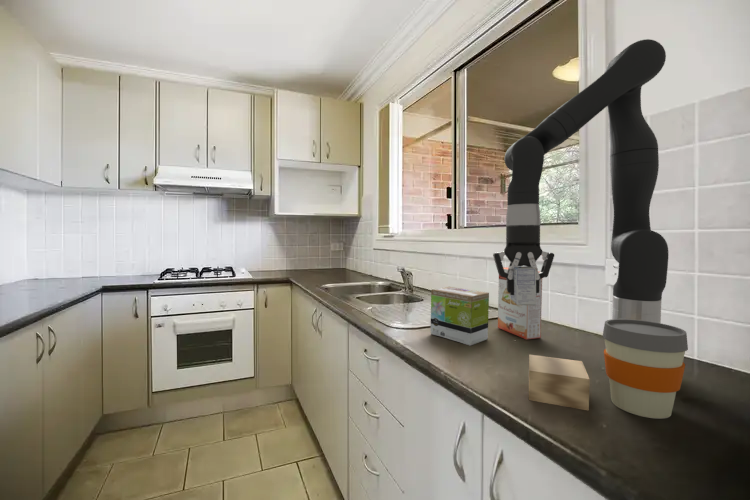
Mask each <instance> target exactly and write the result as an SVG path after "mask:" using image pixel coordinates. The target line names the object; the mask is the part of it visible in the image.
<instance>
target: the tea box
mask: <svg viewBox="0 0 750 500" xmlns="http://www.w3.org/2000/svg"><path fill="white" fill-rule="evenodd" d="M430 291H431V292H430V335H433V336H438V337H441V338H445V339H448V340H450V341H454V342H458V343H461V344H464V345H467V346H470V347H471V346H474V345H476V344H479V343H481V342H484V341H486V340H488V339H489V337H488V336H489V314H490V313H489V312H490V311H489V310H490V309H489V308H490V306H489V305H490V292H485V291H480V290H475V289H467V288H461V287H455V286H444V287H441V288H435V289H430Z"/></svg>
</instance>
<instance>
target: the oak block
mask: <svg viewBox="0 0 750 500" xmlns="http://www.w3.org/2000/svg"><path fill="white" fill-rule="evenodd" d="M528 355H529V357H528V400H529V401H533V402H537V403H544V404H549V405H555V406H559V407H566V408H572V409H577V410H582V411H583V410H584V411H589V410H590V409H589V408H590V385H591V384H590V376H589V374H588V372H587V369H586V367H585V365H584V363H583V361H582V360H575V359H574V360H573V359H567V358H559V357H553V356H552V357H550V356H544V355H535V354H528Z"/></svg>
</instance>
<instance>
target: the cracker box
mask: <svg viewBox="0 0 750 500" xmlns="http://www.w3.org/2000/svg"><path fill="white" fill-rule="evenodd" d="M503 268H504V272H506V273H507V272H508V268H509V266H508V267H504V266H503ZM540 272H541V271H539V270H538V273H540ZM497 296H498V297H497V299H498V300H497V301H498V302H497V309H498V310H497V329H500V330H502V331H504V332H507V333H510V334H511V335H513V336H517V337H519V338H522V339H524V340H533V339H534V340H535V339H541V337H542V306H543V305H542V302H543V301H542V300H543V278H541V279H540V281H539V293H537V295H536V305H517V304H516V303H515V302H514V301H513V300H511V295H510V294H509V293H508V292H507V279H506V278H504V277H501V276H500V275H499V274H498V295H497Z"/></svg>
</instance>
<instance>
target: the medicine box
mask: <svg viewBox="0 0 750 500" xmlns="http://www.w3.org/2000/svg"><path fill="white" fill-rule="evenodd" d="M513 280H514V295H511V300H513V301H514V302H515V303H516V304H517V305H536V269H535V268H533V267H530V266H517V268H515V270H514V276H513Z"/></svg>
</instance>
